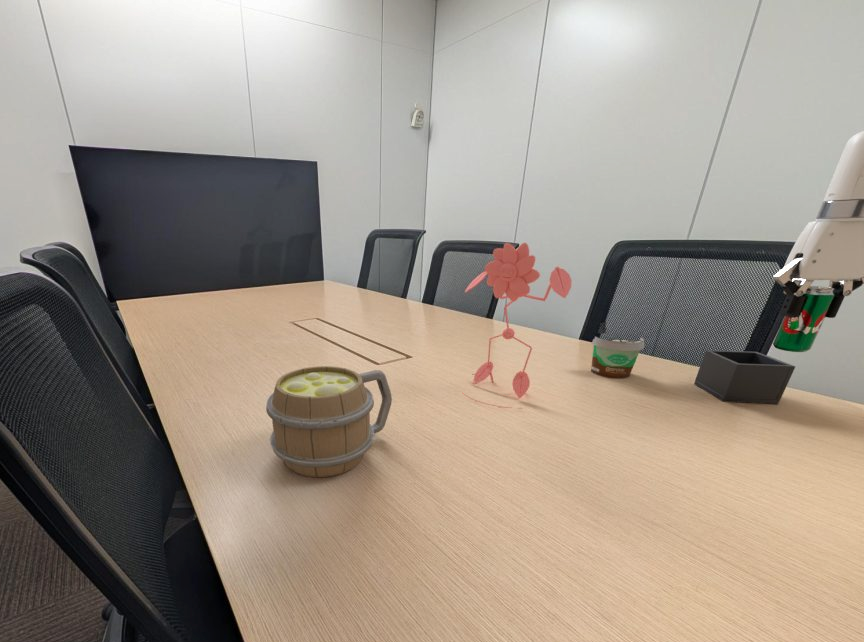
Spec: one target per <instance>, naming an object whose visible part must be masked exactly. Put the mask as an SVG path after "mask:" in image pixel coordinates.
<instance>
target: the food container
mask: <svg viewBox="0 0 864 642" xmlns="http://www.w3.org/2000/svg"><path fill="white" fill-rule="evenodd" d="M639 338H640V339H639V340H637V339H636V340H628V339H621V338H613V339H603V338H600V337H598V336H594V338H593V339H592V342H591V345H593V348H592V360H591V367H590V372H591V373H593V374H596V375H597V376H601V377H605V378H611V379H627V378H629V377H630V376H631V373H632V371H633V368H634V366H635V363H636V361H637V358H638V356H639V354H640V351H642V350H644V349H645V340H644V338H643V337H639Z"/></svg>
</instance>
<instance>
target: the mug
mask: <svg viewBox="0 0 864 642" xmlns="http://www.w3.org/2000/svg"><path fill="white" fill-rule="evenodd" d="M374 381H376V383H377V386H378V389H379V392H380V395H381V403H380V406H379V410H378V414H377V417H376V421H375V422H374V423H373V424H371V416H370V415H371V414H370V413H371V411H372V410H373V408H374V405H375V401H374V396H373V393H372V392H371V390H370V389H368V388H367V387H366V385H365V383H366V384H367V383H370V382H374ZM273 389H274V390H273V393H272V394H271V395H269V396H268V398H267V401H266V408H265V410H266V414H267V415H268V417H269V418H270V419H271V420H272V421H271V423H272V430H273V431H272V432H271V435H270V438H269V440H270V441H269V442H270V446H271V448H272V451H273V453H274V454H275V455H276V456H277V457H278V458H279V459H281V460H282V461H283V463H284V464H285V465H286V467H287V468H288V469H289V470H291V471H292V472H294V473H296V474H298V475H301V476H305V477H309V478H310V477H311V478H329V477H334V476H335V477H336V476H338V475H343V474H344V473H346V472H349V471H350V470H352V469H354V468H355V467H357V465H359V463H360V462H361V461H362V460H363V457H364V454H365V453H367V452H368V450H369V449H370V448H371V447H372V445H373V442H374V439H375V434H377V433H380V432H381V431H382V430H383V429H384V428H385V426H386V423H387V420H388V416H389V414H390V409H391V406H392V403H393V398H392V397H393V396H392V393H391V389H390V385H389V382H388V380H387V377H386V373H385V372H383V371H382V370H380V369H374V370H371V371H366V372H362V373H358V372H356V371H354V370H352V369H350V368H346V367H339V366H331V365H330V366H329V365H326V366H325V365H324V366H323V365H320V366H318V365H317V366H310V367H309V366H308V367H304V368H299V369H295V370H292V371H289V372H287V373H284V374H283V375H281V376H280V377H278V379H277V380H276V383H275V386H274V388H273Z"/></svg>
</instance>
